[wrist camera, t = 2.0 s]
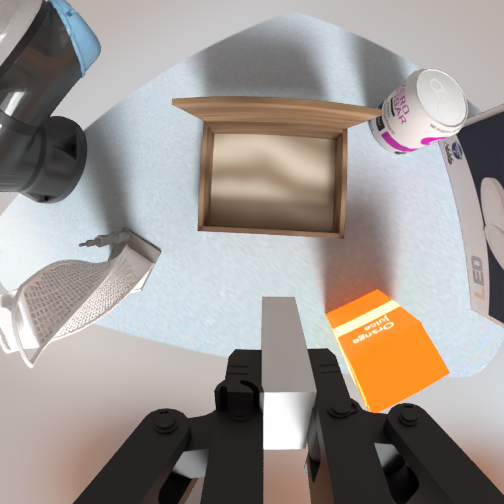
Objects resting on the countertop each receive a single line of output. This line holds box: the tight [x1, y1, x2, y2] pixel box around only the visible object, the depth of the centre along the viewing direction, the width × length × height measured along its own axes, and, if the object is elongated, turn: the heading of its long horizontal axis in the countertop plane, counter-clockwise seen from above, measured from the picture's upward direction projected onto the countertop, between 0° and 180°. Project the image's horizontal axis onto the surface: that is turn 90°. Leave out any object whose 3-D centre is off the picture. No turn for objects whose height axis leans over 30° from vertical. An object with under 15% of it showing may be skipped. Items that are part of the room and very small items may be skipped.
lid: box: [172, 96, 382, 129], centre depth 28 cm, size 1×17×13 cm, turn 87°
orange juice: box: [325, 289, 450, 413], centre depth 32 cm, size 8×9×20 cm
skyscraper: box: [0, 228, 161, 368], centre depth 29 cm, size 8×8×28 cm
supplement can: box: [371, 69, 468, 154], centre depth 31 cm, size 8×8×15 cm
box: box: [198, 121, 347, 239], centre depth 38 cm, size 14×18×5 cm
